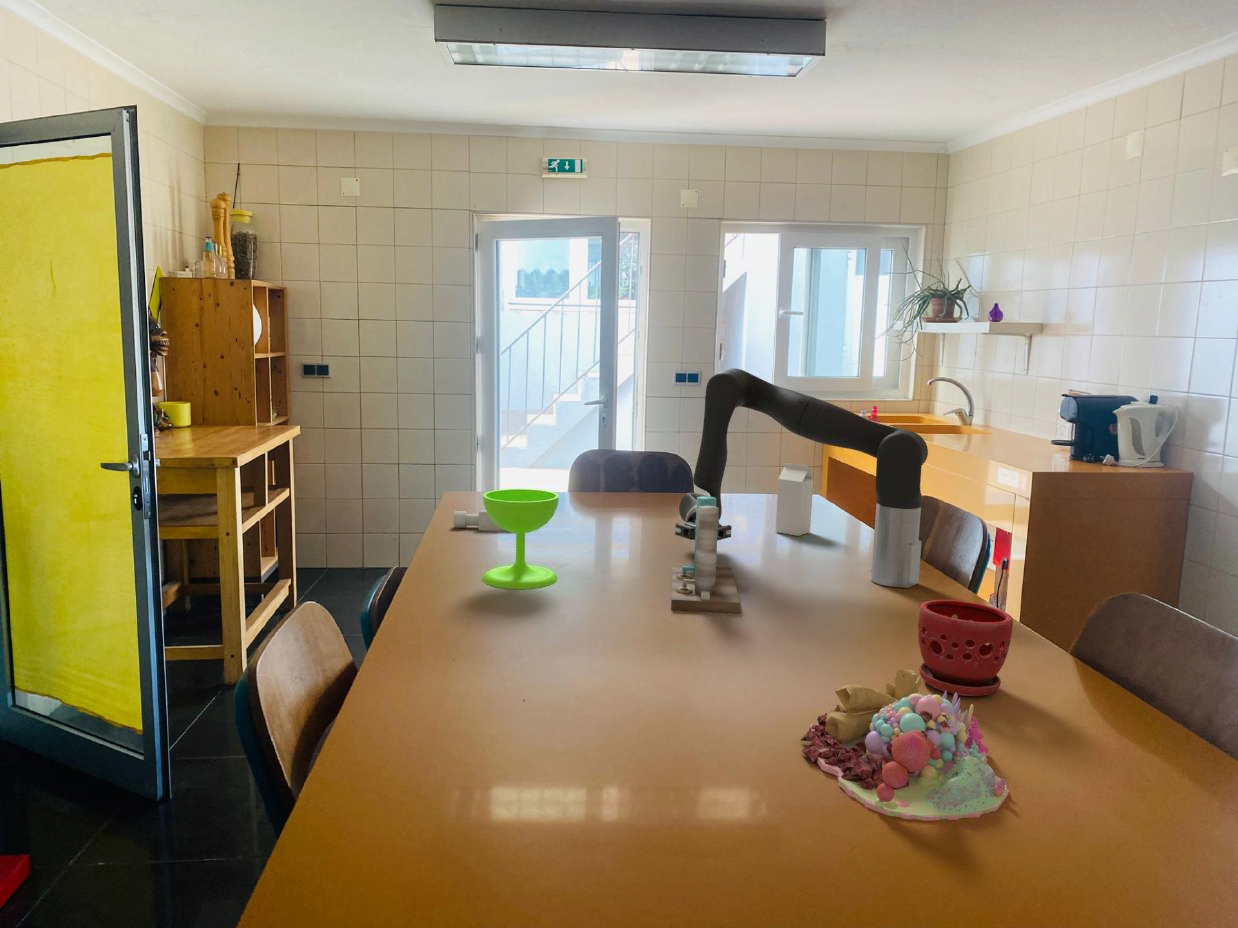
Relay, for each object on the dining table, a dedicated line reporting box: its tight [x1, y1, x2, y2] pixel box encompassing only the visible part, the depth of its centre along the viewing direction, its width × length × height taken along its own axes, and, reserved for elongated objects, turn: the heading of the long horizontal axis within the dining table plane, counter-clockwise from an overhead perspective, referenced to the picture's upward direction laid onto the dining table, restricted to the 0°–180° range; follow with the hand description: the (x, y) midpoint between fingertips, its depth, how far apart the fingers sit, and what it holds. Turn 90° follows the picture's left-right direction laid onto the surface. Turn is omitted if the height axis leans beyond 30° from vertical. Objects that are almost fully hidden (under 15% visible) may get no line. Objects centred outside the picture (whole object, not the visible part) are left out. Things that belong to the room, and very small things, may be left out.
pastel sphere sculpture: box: [800, 668, 1009, 822], centre depth 105 cm, size 25×24×9 cm
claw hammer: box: [452, 509, 505, 532], centre depth 243 cm, size 6×22×30 cm
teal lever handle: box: [682, 495, 716, 575], centre depth 179 cm, size 4×6×16 cm, turn 86°
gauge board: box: [670, 506, 741, 614], centre depth 176 cm, size 26×13×19 cm, turn 176°
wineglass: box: [481, 488, 560, 590], centre depth 182 cm, size 16×16×18 cm
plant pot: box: [917, 599, 1014, 697], centre depth 131 cm, size 13×13×12 cm
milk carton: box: [775, 462, 814, 537], centre depth 235 cm, size 7×7×19 cm
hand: (704, 539), depth 181 cm, fingers closed
